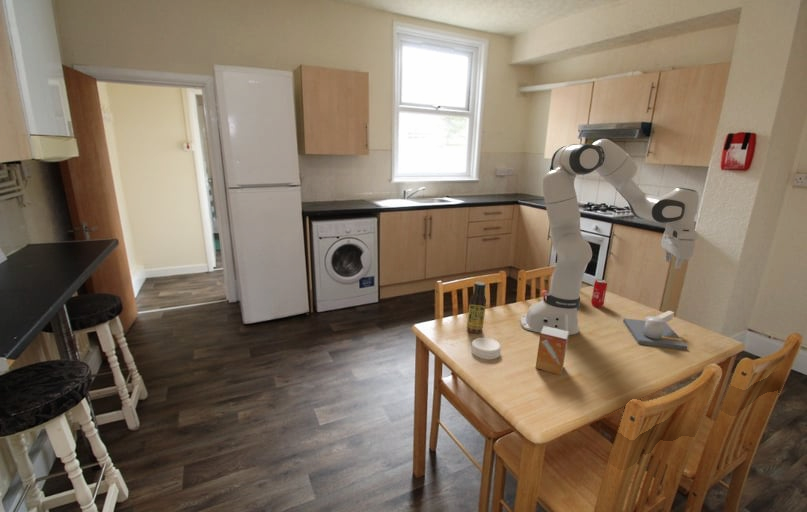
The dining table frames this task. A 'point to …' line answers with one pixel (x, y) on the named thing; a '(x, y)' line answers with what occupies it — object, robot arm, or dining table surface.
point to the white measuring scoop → (656, 324)
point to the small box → (552, 349)
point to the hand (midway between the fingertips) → (672, 264)
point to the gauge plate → (667, 340)
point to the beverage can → (599, 293)
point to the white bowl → (486, 348)
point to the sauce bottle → (477, 309)
